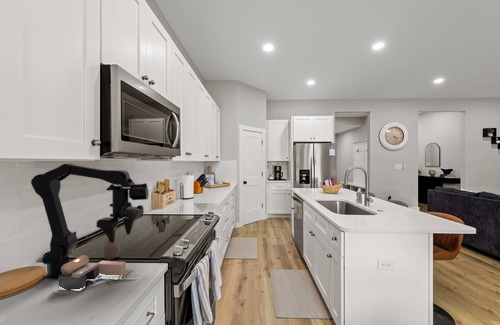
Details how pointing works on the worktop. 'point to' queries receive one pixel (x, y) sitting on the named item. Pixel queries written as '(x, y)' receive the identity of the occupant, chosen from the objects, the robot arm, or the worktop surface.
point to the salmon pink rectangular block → (112, 267)
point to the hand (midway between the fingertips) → (120, 238)
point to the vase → (111, 250)
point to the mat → (125, 274)
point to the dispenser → (77, 273)
